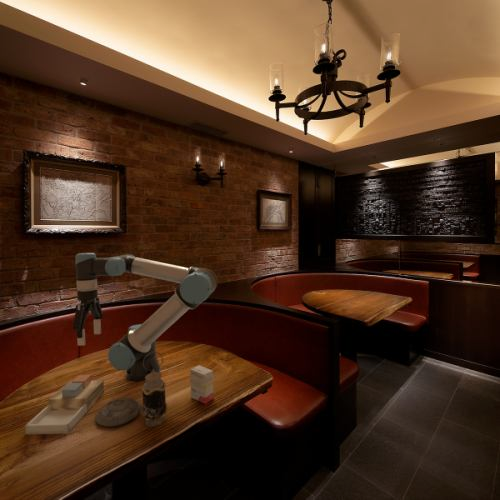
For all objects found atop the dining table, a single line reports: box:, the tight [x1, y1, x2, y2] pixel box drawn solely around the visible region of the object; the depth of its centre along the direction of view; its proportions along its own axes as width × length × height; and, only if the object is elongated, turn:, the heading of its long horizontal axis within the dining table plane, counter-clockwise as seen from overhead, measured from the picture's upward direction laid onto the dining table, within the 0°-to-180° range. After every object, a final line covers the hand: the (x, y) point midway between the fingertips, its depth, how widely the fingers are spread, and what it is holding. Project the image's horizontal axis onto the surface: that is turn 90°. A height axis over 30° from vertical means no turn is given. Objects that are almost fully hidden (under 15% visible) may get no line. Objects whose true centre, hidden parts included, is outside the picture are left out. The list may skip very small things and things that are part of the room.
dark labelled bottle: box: [140, 351, 168, 427], centre depth 101 cm, size 9×8×25 cm
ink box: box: [189, 364, 214, 405], centre depth 114 cm, size 9×5×12 cm, turn 54°
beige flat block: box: [48, 380, 105, 412], centre depth 113 cm, size 14×13×5 cm
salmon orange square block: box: [71, 374, 92, 389], centre depth 115 cm, size 5×5×3 cm
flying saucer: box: [95, 397, 142, 428], centre depth 104 cm, size 15×15×6 cm
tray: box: [24, 404, 88, 435], centre depth 100 cm, size 14×12×3 cm
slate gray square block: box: [62, 383, 83, 398], centre depth 109 cm, size 5×5×3 cm
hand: (90, 339), depth 122 cm, fingers open, 12 cm apart
